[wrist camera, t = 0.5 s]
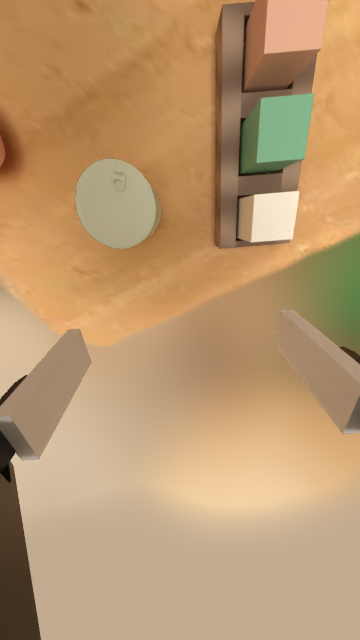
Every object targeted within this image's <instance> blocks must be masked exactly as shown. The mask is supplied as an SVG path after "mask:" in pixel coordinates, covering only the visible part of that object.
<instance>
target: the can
mask: <svg viewBox="0 0 360 640" xmlns="http://www.w3.org/2000/svg"><path fill="white" fill-rule="evenodd" d="M75 204H76V210H77V213H78V216H79V219H80V221H81V223H82V225H83V226H84V228H85V229H86V231H87V232H88V233H89V234H90V235H91V236H92V237H93V238H94V239H95V240H97V241H98V242H100V243H101V244H103V245H105V246H108V247H111V248H115V249H126V248H131V247H134V246H136V245H138V244H139V243H141V242H142V241H143V240H144V239H146V238H148V237H149V236H151V235H152V234H153V233H154V232H155V230H156V229H157V227H158V225H159V223H160V220H161V203H160V200H159V197H158V195H157V193H156V192H155V190H154V189H153V187H152V186H151V185H150V184H149V183H148V181H147V179H146V178H145V177H144V175H143V174H142V173H141V172H140V171H139V170H138V169H137V168H135V167H134V166H133V165H131V164H129V163H127V162H125V161H122V160H119V159H112V158H108V159H102V160H98V161H96V162H94V163H92V164H91V165H90V166H88V167H87V168H86V169H85V170H84V171H83V173H82V174H81V176H80V178H79V180H78V183H77V186H76V191H75Z"/></svg>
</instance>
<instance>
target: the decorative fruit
mask: <svg viewBox="0 0 360 640" xmlns="http://www.w3.org/2000/svg"><path fill="white" fill-rule="evenodd" d="M4 159H5V147H4V143H3V140H2V137H1V135H0V167H1V165H2V164H3V162H4Z"/></svg>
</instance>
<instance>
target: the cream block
mask: <svg viewBox="0 0 360 640" xmlns="http://www.w3.org/2000/svg"><path fill="white" fill-rule="evenodd" d="M299 192H300V191H292V192H280V193H268V194H256V195H251V196H248V197H244V198H241V199H238V217H237V238H239V239H242V240H245V241H248V242H263V241H275V240H287V239H293V232H294V226H295V219H296V212H297V206H298V199H299Z"/></svg>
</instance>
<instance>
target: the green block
mask: <svg viewBox="0 0 360 640" xmlns="http://www.w3.org/2000/svg"><path fill="white" fill-rule="evenodd" d="M313 98H314V93H313V94H301V95H290V96H278V97H267V98H261V99H260V100H259V102H258V103H257V104H256V106H255V107H254V108H253V110H252V111H251V112H250V114H249V115H248V117H247V118H246V119H245V121H244V122H243V123H242V125H241V142H240V167H239V174H249V173H261V172H273V171H278V170H281V169H283V168H285V167H287V166H290V165H292V164H294V163H296V162H299V161H301V160H303V159H305V152H306V145H307V139H308V132H309V125H310V119H311V112H312V105H313Z"/></svg>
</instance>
